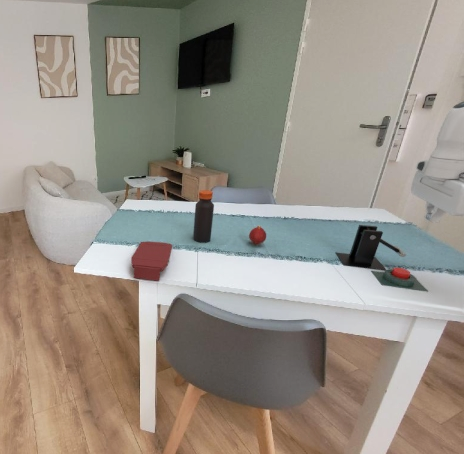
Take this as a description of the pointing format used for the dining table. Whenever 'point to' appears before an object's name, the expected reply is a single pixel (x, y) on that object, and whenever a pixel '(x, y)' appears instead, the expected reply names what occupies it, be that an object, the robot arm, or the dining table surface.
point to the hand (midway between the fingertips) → (431, 220)
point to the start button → (400, 273)
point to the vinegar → (203, 217)
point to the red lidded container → (150, 259)
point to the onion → (257, 235)
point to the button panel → (398, 281)
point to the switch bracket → (364, 249)
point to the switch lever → (390, 246)
